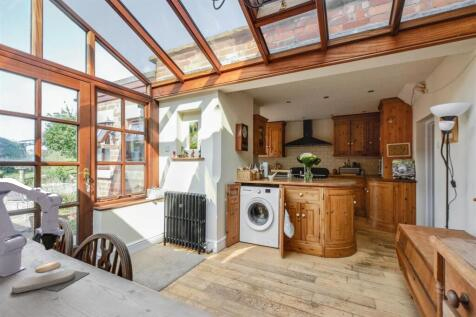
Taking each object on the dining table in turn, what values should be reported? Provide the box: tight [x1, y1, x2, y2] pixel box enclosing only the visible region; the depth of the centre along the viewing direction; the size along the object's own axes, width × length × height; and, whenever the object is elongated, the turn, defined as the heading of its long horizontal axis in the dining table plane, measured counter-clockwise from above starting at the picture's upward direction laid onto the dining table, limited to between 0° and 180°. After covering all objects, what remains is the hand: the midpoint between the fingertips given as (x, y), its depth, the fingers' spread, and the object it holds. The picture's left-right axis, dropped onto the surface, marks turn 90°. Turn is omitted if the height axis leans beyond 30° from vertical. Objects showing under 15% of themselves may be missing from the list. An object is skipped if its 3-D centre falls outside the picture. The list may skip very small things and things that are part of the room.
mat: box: [37, 270, 90, 292], centre depth 89 cm, size 12×14×1 cm
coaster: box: [34, 261, 61, 273], centre depth 99 cm, size 9×9×1 cm
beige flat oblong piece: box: [11, 268, 76, 294], centre depth 86 cm, size 20×2×8 cm
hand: (48, 249), depth 96 cm, fingers closed
